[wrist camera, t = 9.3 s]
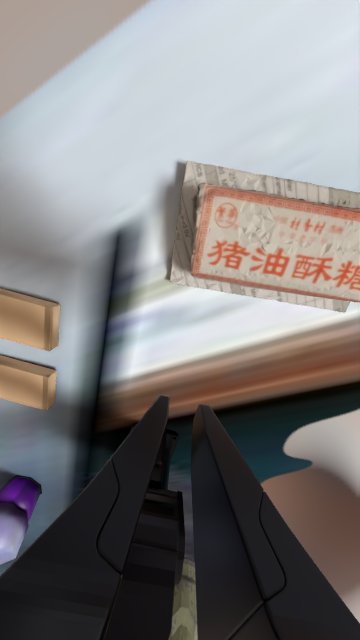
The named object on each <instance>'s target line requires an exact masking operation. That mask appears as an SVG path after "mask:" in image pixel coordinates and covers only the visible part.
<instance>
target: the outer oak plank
mask: <svg viewBox="0 0 360 640" xmlns="http://www.w3.org/2000/svg"><path fill="white" fill-rule="evenodd" d="M59 318H60V305H59V304H56V303H52V302H48V301H45V300H41V299H37V298H34V297H30V296H26V295H23V294H19V293H15V292H12V291H8V290H5V289H1V288H0V338H2V339H6V340H10V341H13V342H17V343H21V344H24V345H28V346H32V347H35V348H39V349H43V350H46V351H50V350H52V349H53V348H55V347H57V346H58V338H59Z"/></svg>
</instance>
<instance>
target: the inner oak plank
mask: <svg viewBox="0 0 360 640" xmlns="http://www.w3.org/2000/svg"><path fill="white" fill-rule="evenodd" d="M56 374H57V371H56V370H52V369H49V368H45V367H41V366H38V365H34V364H30V363H27V362H23V361H19V360H16V359H12V358H8V357H5V356H1V355H0V398H2V399H6V400H9V401H13V402H17V403H20V404H24V405H28V406H31V407H35V408H39V409H42V410H46V411H47V410H48V409H49V408H50V407H51V406H52V405H53V404H54V403H55V395H56Z"/></svg>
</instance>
